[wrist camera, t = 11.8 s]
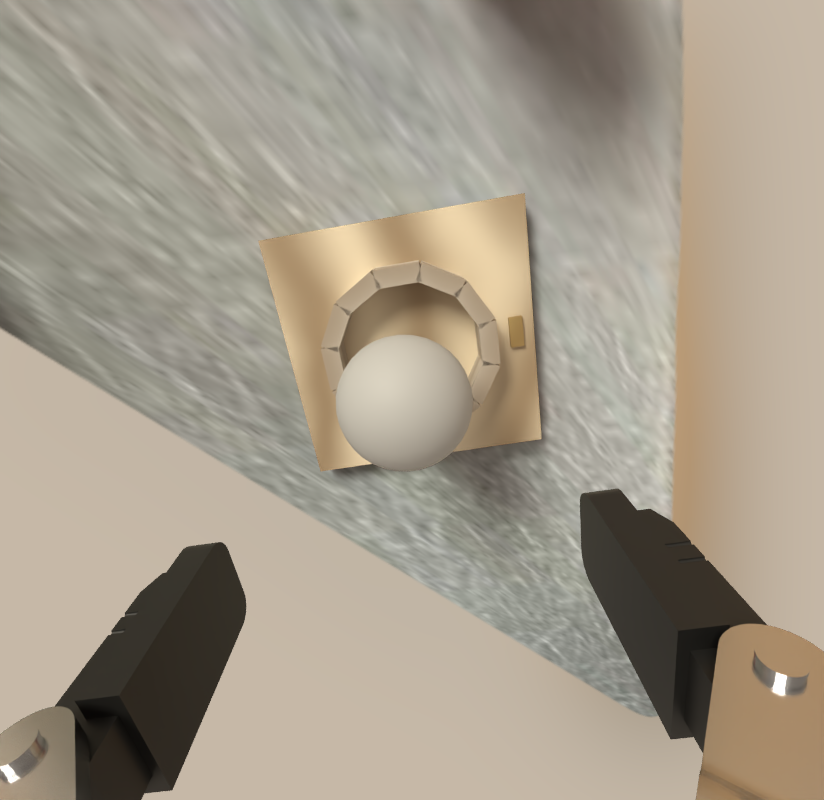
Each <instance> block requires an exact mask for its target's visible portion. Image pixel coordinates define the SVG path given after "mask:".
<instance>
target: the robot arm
mask: <svg viewBox="0 0 824 800" xmlns="http://www.w3.org/2000/svg"><path fill="white" fill-rule="evenodd" d="M580 518H581V549H582V558H583V563H584V567H585V570H586V574H587V576H588V579H589V581H590V583H591V585H592V587H593V589H594V591H595V593H596V595H597V597H598V599H599V601H600V603H601V605H602V606H603V608H604V610H605V612H606V614H607V616H608V618H609V620H610V622H611V624H612V626H613V628H614V630H615V632H616V634H617V636H618V638H619V640H620V642H621V643H622V645H623V647H624V649H625V651H626V653H627V655H628V657H629V659H630V661H631V663H632V665H633V667H634V669H635V671H636V673H637V675H638V677H639V678H640V680H641V682H642V684H643V686H644V688H645V690H646V692H647V694H648V696H649V698H650V700H651V702H652V704H653V706H654V708H655V710H656V712H657V714H658V715H659V717H660V719H661V721H662V723H663V725H664V727H665V729H666V731H667V733H668V735H669V737H670V739H678V738H687V737H694V738H695V740H696V742H697V743H698V745H699V747H700V749H701V750H702V752H703V759H702V766H701V771H700V774H699V781H698V788H697V795H696V800H824V652H823V651H822V650H821V649H819V648H818V647H816V646H815V645H814V644H812V643H811V642H809V641H807V640H805V639H804V638H802V637H800V636H797V635H795V634H793V633H791V632H788V631H786V630H783V629H780V628H777V627H772V626H768V625H767V624H766V623H765V622H764V621H763V620H762V619H761V618H760V617H759V616H758V615H757V614H756V612H755V611H754V610H753V609H752V608H751V607H750V606H749V605H748V604H747V603H746V601H745V600H744V599H743V598H742V597H741V596H740V595H739V594H738V593H737V592H736V590H734V588H733V587H732V586H731V585H730V584H729V583H728V582H727V581H726V579H725V578H724V577H723V576H722V575H721V574H720V573H719V572H718V571H717V570H716V568H715V567H714V566H713V565H712V564H711V563H710V562H709V561H706V560H705V557H704V555H703V554H702V553H701V552H700V551H699V550H698V549H697V548H696V547H695V545H692V544H691V542H690V540H689V539H688V538H687V537H686V535H685V534H684V533H683V532H682V531H681V530H680V529H679V528H678V527H677V526H676V525H675V523H674V522H672V521H670V520H668V519H667V518H665V517H663V516H662V515H660V514H658V513H656V512H655V511H653V510H651V509H645V510H636V508H635V507H634V506H633V505H632V503H631V502H630V501H629V500H628V499H627V497H626V496H625V495H624V494H623V492H622V491H621V490H619V489H611V490H604V491H596V492H589V493H582V495H581V497H580ZM245 615H246V598H245V594H244V591H243V588H242V586H241V583H240V580H239V578H238V575H237V572H236V570H235V567H234V564H233V562H232V559H231V557H230V554H229V551H228V549H227V547H226V545H224V544H223V543H221V542H218V543H211V544H204V545H196V546H189V547H186V548H185V549H183V550H182V552H181V553H180V554H179V556H178V557H177V559H176V560H175V561H174V563H173V564H172V565H171V567H170V568H169V570H168V571H167V572H166V573H163V574H161V575H160V576H159V577H158V578H157V579H155V580H154V581H153V582H152V583H151V584H150V585H148V586H147V587H146V588H145V589H144V590H143V591H141V592H140V594H139V595H138V596H137V598H136V599H135V600H134V602H133V603H132V604H131V606H130V607H129V608H128V610H127V611H126V612H125V617H122V618H121V619H120V620H119V621H118V623H117V624H116V625H115V627H114V628H113V630H112V634H111V635H108V636H107V638H106V639H105V640H104V642H103V643H102V644H101V645H100V647H99V648H98V649H97V651H96V652H95V654H94V655H93V656H92V658H91V659H90V660H89V661H88V663H87V664H86V666H85V667H84V668H83V669H82V671H81V672H80V674H79V675H78V676H77V677H76V679H75V680H74V682H73V683H72V684H71V685H70V687H69V688H68V689H67V691H66V692H65V693H64V695H63V696H62V697H61V699H60V700H59V701H58V703H57V704H56V705H55V707H50V708H46V709H43V710H40V711H37V712H35V713H33V714H31V715H29V716H27V717H25V718H23V719H21V720H20V721H18V722H16V723H15V724H13V725H12V726H11V727H9V728H8V729H6V730H5V731H4V732H2V733H1V734H0V800H141V799H142V797H143V795H144V793H151V792H160V791H170V790H173V787H174V785H175V782H176V780H177V778H178V775H179V773H180V771H181V768H182V766H183V764H184V762H185V759H186V757H187V755H188V752H189V750H190V747H191V745H192V743H193V740H194V738H195V736H196V733H197V731H198V729H199V726H200V724H201V722H202V719H203V717H204V715H205V712H206V710H207V708H208V705H209V703H210V701H211V698H212V696H213V693H214V691H215V689H216V687H217V684H218V682H219V680H220V677H221V675H222V673H223V670H224V668H225V666H226V663H227V661H228V659H229V656H230V654H231V652H232V649H233V647H234V645H235V642H236V640H237V638H238V635H239V633H240V631H241V628H242V626H243V623H244V620H245Z"/></svg>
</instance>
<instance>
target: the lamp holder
mask: <svg viewBox="0 0 824 800" xmlns="http://www.w3.org/2000/svg"><path fill="white" fill-rule="evenodd" d="M259 245H260V249H261V252H262V256H263V260H264V263H265V267H266V271H267V274H268V278H269V282H270V286H271V289H272V293H273V297H274V300H275V304H276V308H277V311H278V315H279V319H280V323H281V326H282V330H283V334H284V337H285V341H286V345H287V348H288V352H289V356H290V359H291V363H292V367H293V371H294V374H295V378H296V382H297V385H298V389H299V393H300V396H301V400H302V404H303V408H304V411H305V415H306V419H307V422H308V426H309V430H310V433H311V437H312V441H313V444H314V448H315V452H316V456H317V459H318V463H319V467H320V470H321V471H326V470H333V469H340V468H347V467H354V466H360V465H367V464H372V463H370V462H369V461H367V460H366V459H364V458H363V457H361V456H360V455H359V454H358V453H357V452H356V451H355V450H354V449H353V448H352V446H351V445H350V444H349V442H348V441H347V440H346V438H345V436H344V434H343V432H342V430H341V428H340V426H339V422H338V418H337V413H336V392H337V387H338V383H339V381H340V378H341V376H342V373H343V371H344V369H345V368H346V366H347V365H348V363H349V362H350V360H351V359H352V358H353V357H354V356H355V355H356V354H357V353H358V352H359V351H360V350H361V349H362V348H364V347H365V346H367V345H369V344H370V343H372V342H374V341H376V340H379V339H382V338H384V337H389V336H394V335H415V336H419V337H424V338H427V339H430V340H432V341H434V342H436V343H439V344H440V345H442V346H443V347H444V348H446V349H447V350H449V351H450V352H451V353H452V354H453V355H454V356H455V357H456V358H457V359H458V361H459V362H460V364H461V365H462V367H463V368H464V370H465V372H466V374H467V377H468V380H469V382H470V385H471V389H472V396H473V407H472V416H471V420H470V423H469V426H468V429H467V431H466V433H465V435H464V437H463V439H462V440H461V442H460V443H459V444H458V446H457V447H456V448H455V449H454V450H453V452H456V451H463V450H470V449H477V448H484V447H491V446H497V445H504V444H511V443H518V442H525V441H532V440H538V439H541V424H540V410H539V395H538V381H537V366H536V351H535V337H534V322H533V308H532V293H531V279H530V264H529V250H528V235H527V221H526V206H525V193H523V194H518V195H512V196H506V197H501V198H495V199H490V200H484V201H478V202H473V203H467V204H462V205H456V206H451V207H445V208H439V209H434V210H428V211H423V212H417V213H411V214H406V215H400V216H395V217H389V218H384V219H378V220H372V221H367V222H361V223H356V224H350V225H344V226H339V227H333V228H328V229H322V230H317V231H311V232H305V233H300V234H294V235H289V236H283V237H277V238H272V239H266V240H261V241H259Z"/></svg>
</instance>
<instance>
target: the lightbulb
mask: <svg viewBox="0 0 824 800" xmlns="http://www.w3.org/2000/svg"><path fill="white" fill-rule="evenodd" d="M472 407H473V396H472V389H471V385H470V382H469V380H468V377H467V374H466V372H465V370H464V368H463V367H462V365H461V364H460V362H459V361H458V359H457V358H456V357H455V356H454V355H453V354H452V353H451V352H450V351H449V350H447V349H446V348H444V347H443V346H442V345H440V344H439V343H436V342H434V341H432V340H430V339H427V338H424V337H419V336H415V335H394V336H389V337H384V338H382V339H379V340H376V341H374V342H372V343H370V344H369V345H367V346H365V347H364V348H362V349H361V350H360V351H359V352H358V353H357V354H356V355H355V356H354V357H353V358H352V359H351V360H350V362H349V363H348V365H347V366H346V368H345V369H344V371H343V373H342V376H341V378H340V381H339V383H338V387H337V392H336V413H337V418H338V422H339V426H340V428H341V430H342V432H343V434H344V436H345V438H346V440H347V441H348V442H349V444H350V445H351V446H352V448H353V449H354V450H355V451H356V452H357V453H358V454H359V455H360V456H361V457H363V458H364V459H366V460H367V461H369V462H370V463H372V464H374V465H376V466H379V467H382V468H384V469H389V470H394V471H414V470H421V469H424V468H427V467H430V466H433V465H434V464H436V463H438V462H440V461H442V460H443V459H444V458H446V457H447V456H448V455H449V454H450V453H452V452H453V450H454V449H455V448H456V447H457V446H458V444H459V443H460V442H461V440H462V439H463V437H464V435H465V433H466V431H467V429H468V426H469V423H470V420H471V416H472Z"/></svg>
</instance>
